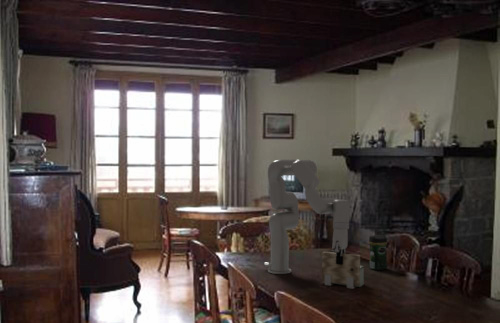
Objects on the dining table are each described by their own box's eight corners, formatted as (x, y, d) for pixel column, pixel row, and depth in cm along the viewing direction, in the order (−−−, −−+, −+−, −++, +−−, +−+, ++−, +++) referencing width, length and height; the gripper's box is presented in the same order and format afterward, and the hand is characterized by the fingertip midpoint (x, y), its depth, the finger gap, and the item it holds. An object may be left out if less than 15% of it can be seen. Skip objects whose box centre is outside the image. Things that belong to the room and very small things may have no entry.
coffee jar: (380, 266, 298) (381, 233, 298) (389, 269, 291) (389, 235, 290) (366, 267, 294) (366, 234, 294) (374, 270, 287) (374, 236, 287)
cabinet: (320, 284, 256) (320, 266, 256) (328, 280, 265) (328, 262, 265) (357, 289, 247) (357, 270, 247) (363, 284, 257) (363, 265, 257)
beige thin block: (321, 281, 256) (321, 252, 256) (323, 280, 259) (323, 251, 259) (357, 286, 248) (358, 256, 248) (359, 284, 251) (360, 255, 251)
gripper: (338, 222, 263) (338, 260, 263) (327, 226, 248) (327, 266, 249) (353, 224, 259) (353, 261, 259) (343, 228, 245) (342, 267, 245)
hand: (340, 263), depth 254 cm, fingers closed on beige thin block, 2 cm apart
